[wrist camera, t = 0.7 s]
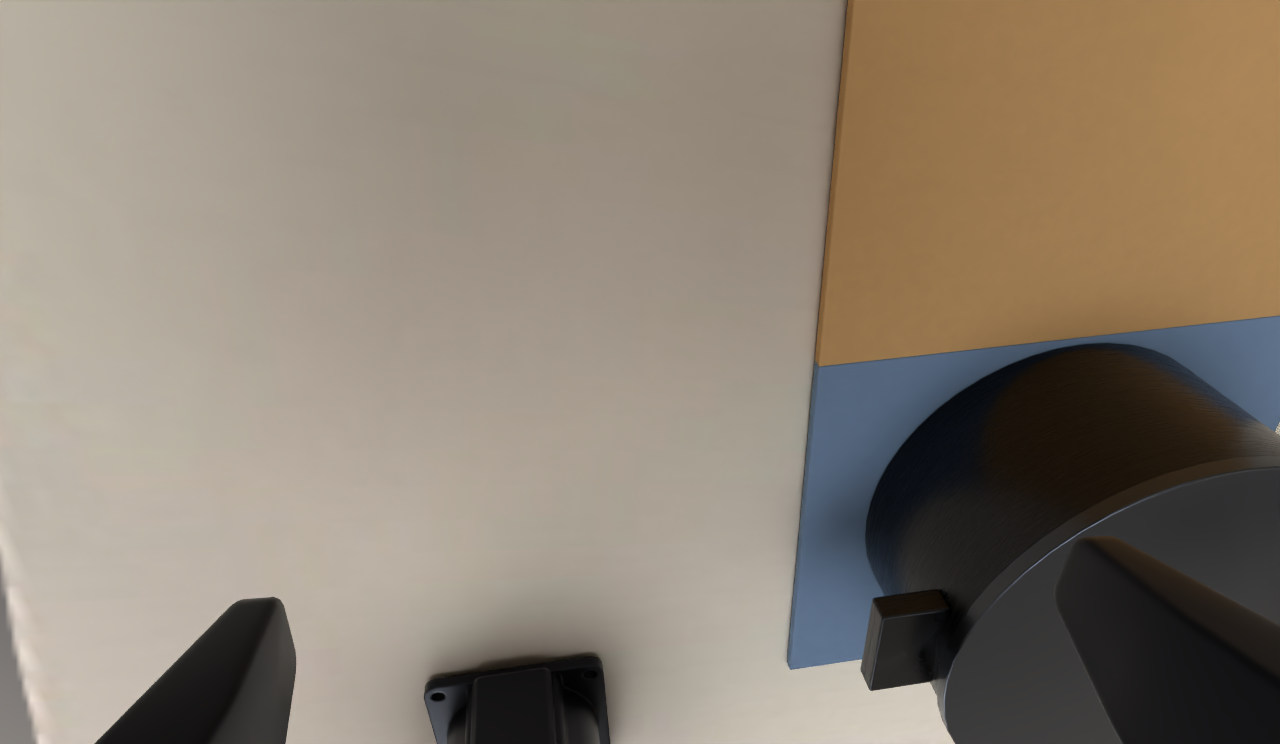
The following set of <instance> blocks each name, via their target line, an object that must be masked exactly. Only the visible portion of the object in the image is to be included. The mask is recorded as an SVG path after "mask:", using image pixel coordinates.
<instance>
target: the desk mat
mask: <svg viewBox="0 0 1280 744" xmlns="http://www.w3.org/2000/svg"><path fill="white" fill-rule="evenodd" d="M1099 343H1114V344H1127V345H1134V346H1138V347H1143V348H1147V349H1152V350H1154V351H1157V352H1159V353H1162V354H1164V355H1166V356H1169V357H1171V358H1173V359H1174V360H1176V361H1177V362H1179V363H1180V364H1182V365H1183V366H1185V367H1186V368H1188V369H1189V370H1190V371H1192V372H1193V373H1194V374H1196V375H1197V376H1199V377H1200V378H1201V379H1203V380H1204V381H1205V382H1207V383H1208V384H1209V385H1211V386H1212V387H1214V388H1215V389H1216V390H1218V391H1219V392H1220V393H1222V394H1223V395H1225V396H1226V397H1227V398H1229V399H1230V400H1231V401H1233V402H1234V403H1235V404H1237V405H1238V406H1240V407H1241V408H1242V409H1244V410H1245V411H1246V412H1248V413H1249V414H1250V415H1252V416H1253V417H1255V418H1256V419H1257V420H1259V421H1260V422H1261V423H1263V424H1264V425H1266V426H1267V427H1268V428H1270V429H1271V430H1272V431H1274V432H1275V430H1276V428H1277V426H1278V424H1279V422H1280V0H848V6H847V17H846V28H845V39H844V50H843V60H842V71H841V82H840V93H839V104H838V115H837V126H836V137H835V148H834V158H833V169H832V180H831V191H830V202H829V213H828V224H827V235H826V246H825V256H824V267H823V278H822V289H821V300H820V311H819V322H818V333H817V343H816V354H815V365H814V376H813V387H812V398H811V409H810V420H809V431H808V441H807V452H806V463H805V474H804V485H803V496H802V507H801V518H800V529H799V539H798V550H797V561H796V572H795V583H794V594H793V605H792V616H791V627H790V637H789V648H788V659H787V663H788V666H789V669H790V670H792V669H799V668H806V667H812V666H819V665H826V664H832V663H839V662H846V661H853V660H859V659H862V658H863V652H864V646H865V640H866V634H867V628H868V622H869V617H870V611H871V605H872V599H873V598H875V597H882V596H885V595H884V593H883V591H882V589H881V588H880V586H879V584H878V582H877V580H876V578H875V576H874V574H873V572H872V570H871V567H870V564H869V561H868V558H867V553H866V544H865V531H866V519H867V515H868V511H869V506H870V502H871V500H872V497H873V495H874V492H875V490H876V487H877V484H878V482H879V481H880V479H881V477H882V475H883V473H884V471H885V470H886V468H887V466H888V464H889V463H890V461H891V460H892V459H893V457H894V456H895V454H896V453H897V452H898V450H899V449H900V447H901V446H902V445H903V444H904V442H905V441H906V440H907V439H908V438H909V437H910V436H911V435H912V433H913V432H914V431H915V430H916V429H917V428H918V427H919V426H920V425H921V424H922V423H923V422H924V421H925V420H926V419H927V418H928V417H930V416H931V415H932V414H933V413H934V412H935V411H936V410H937V409H938V408H940V407H941V406H942V405H944V404H945V403H946V402H948V401H949V400H950V399H951V398H953V397H954V396H955V395H957V394H958V393H959V392H961V391H963V390H964V389H966V388H967V387H969V386H971V385H972V384H974V383H975V382H977V381H979V380H980V379H982V378H984V377H986V376H988V375H990V374H992V373H994V372H996V371H998V370H1000V369H1002V368H1004V367H1006V366H1008V365H1010V364H1013V363H1015V362H1018V361H1020V360H1023V359H1026V358H1028V357H1031V356H1034V355H1037V354H1041V353H1044V352H1048V351H1051V350H1055V349H1059V348H1065V347H1070V346H1076V345H1082V344H1099Z"/></svg>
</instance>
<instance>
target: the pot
mask: <svg viewBox="0 0 1280 744" xmlns="http://www.w3.org/2000/svg"><path fill="white" fill-rule="evenodd" d="M1095 536H1112V537H1116V538H1118V539H1120V540H1122V541H1124V542H1126V543H1128V544H1129V545H1131V546H1133V547H1135V548H1137V549H1139V550H1141V551H1143V552H1144V553H1146V554H1148V555H1150V556H1152V557H1154V558H1156V559H1157V560H1159V561H1161V562H1163V563H1165V564H1167V565H1169V566H1171V567H1172V568H1174V569H1176V570H1178V571H1180V572H1182V573H1184V574H1185V575H1187V576H1189V577H1191V578H1193V579H1195V580H1197V581H1199V582H1200V583H1202V584H1204V585H1206V586H1208V587H1210V588H1212V589H1213V590H1215V591H1217V592H1219V593H1221V594H1223V595H1225V596H1227V597H1228V598H1230V599H1232V600H1234V601H1236V602H1238V603H1240V604H1241V605H1243V606H1245V607H1247V608H1249V609H1251V610H1253V611H1255V612H1256V613H1258V614H1260V615H1262V616H1264V617H1266V618H1268V619H1270V620H1271V621H1273V622H1275V623H1277V624H1279V625H1280V436H1279V435H1278V434H1276V433H1275V432H1274V431H1272V430H1271V429H1270V428H1268V427H1267V426H1266V425H1264V424H1263V423H1261V422H1260V421H1259V420H1257V419H1256V418H1255V417H1253V416H1252V415H1250V414H1249V413H1248V412H1246V411H1245V410H1244V409H1242V408H1241V407H1240V406H1238V405H1237V404H1235V403H1234V402H1233V401H1231V400H1230V399H1229V398H1227V397H1226V396H1225V395H1223V394H1222V393H1220V392H1219V391H1218V390H1216V389H1215V388H1214V387H1212V386H1211V385H1209V384H1208V383H1207V382H1205V381H1204V380H1203V379H1201V378H1200V377H1199V376H1197V375H1196V374H1194V373H1193V372H1192V371H1190V370H1189V369H1188V368H1186V367H1185V366H1183V365H1182V364H1180V363H1179V362H1177V361H1176V360H1174V359H1173V358H1171V357H1169V356H1166V355H1164V354H1162V353H1159V352H1157V351H1154V350H1152V349H1147V348H1143V347H1138V346H1134V345H1127V344H1114V343H1099V344H1082V345H1076V346H1070V347H1065V348H1059V349H1055V350H1051V351H1048V352H1044V353H1041V354H1037V355H1034V356H1031V357H1028V358H1026V359H1023V360H1020V361H1018V362H1015V363H1013V364H1010V365H1008V366H1006V367H1004V368H1002V369H1000V370H998V371H996V372H994V373H992V374H990V375H988V376H986V377H984V378H982V379H980V380H979V381H977V382H975V383H974V384H972V385H971V386H969V387H967V388H966V389H964V390H963V391H961V392H959V393H958V394H957V395H955V396H954V397H953V398H951V399H950V400H949V401H948V402H946V403H945V404H944V405H942V406H941V407H940V408H938V409H937V410H936V411H935V412H934V413H933V414H932V415H931V416H930V417H928V418H927V419H926V420H925V421H924V422H923V423H922V424H921V425H920V426H919V427H918V428H917V429H916V430H915V431H914V432H913V433H912V435H911V436H910V437H909V438H908V439H907V440H906V441H905V442H904V444H903V445H902V446H901V447H900V449H899V450H898V452H897V453H896V454H895V456H894V457H893V459H892V460H891V461H890V463H889V464H888V466H887V468H886V470H885V471H884V473H883V475H882V477H881V479H880V481H879V482H878V484H877V487H876V490H875V492H874V495H873V497H872V500H871V502H870V506H869V511H868V515H867V519H866V531H865V544H866V553H867V558H868V561H869V564H870V567H871V570H872V572H873V574H874V576H875V578H876V580H877V582H878V584H879V586H880V588H881V589H882V591H883V593H884V595H885V596H882V597H875V598H873V599H872V605H871V611H870V617H869V622H868V628H867V634H866V640H865V646H864V652H863V658H862V664H861V672H862V674H863V676H864V679H865V681H866V683H867V685H868V688H869V690H870V691H873V690H880V689H887V688H893V687H900V686H906V685H913V684H919V683H926V682H930V683H931V685H932V687H933V689H934V691H935V693H936V694H937V700H938V707H939V711H940V714H941V718H942V721H943V722H944V724H945V726H946V728H947V730H948V732H949V734H950V736H951V737H952V739H953V741H954V743H955V744H1122V743H1121V741H1120V739H1119V737H1118V736H1117V734H1116V732H1115V730H1114V728H1113V726H1112V724H1111V722H1110V720H1109V718H1108V716H1107V714H1106V712H1105V710H1104V708H1103V706H1102V704H1101V702H1100V700H1099V698H1098V696H1097V694H1096V691H1095V689H1094V687H1093V685H1092V683H1091V681H1090V678H1089V676H1088V674H1087V672H1086V670H1085V668H1084V666H1083V663H1082V661H1081V659H1080V657H1079V655H1078V653H1077V651H1076V648H1075V646H1074V644H1073V642H1072V640H1071V638H1070V636H1069V633H1068V631H1067V629H1066V627H1065V625H1064V623H1063V620H1062V618H1061V616H1060V614H1059V612H1058V610H1057V607H1056V604H1055V600H1054V587H1055V584H1056V581H1057V579H1058V576H1059V574H1060V572H1061V569H1062V567H1063V565H1064V562H1065V560H1066V557H1067V555H1068V553H1069V550H1070V548H1071V546H1072V544H1073V543H1074V542H1075V541H1076V540H1078V539H1079V538H1083V537H1095Z"/></svg>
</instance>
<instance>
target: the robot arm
mask: <svg viewBox="0 0 1280 744" xmlns="http://www.w3.org/2000/svg"><path fill="white" fill-rule="evenodd" d="M1054 600H1055V604H1056V607H1057V610H1058V612H1059V614H1060V616H1061V618H1062V620H1063V623H1064V625H1065V627H1066V629H1067V631H1068V633H1069V636H1070V638H1071V640H1072V642H1073V644H1074V646H1075V648H1076V651H1077V653H1078V655H1079V657H1080V659H1081V661H1082V663H1083V666H1084V668H1085V670H1086V672H1087V674H1088V676H1089V678H1090V681H1091V683H1092V685H1093V687H1094V689H1095V691H1096V694H1097V696H1098V698H1099V700H1100V702H1101V704H1102V706H1103V708H1104V710H1105V712H1106V714H1107V716H1108V718H1109V720H1110V722H1111V724H1112V726H1113V728H1114V730H1115V732H1116V734H1117V736H1118V737H1119V739H1120V741H1121V743H1122V744H1280V625H1279V624H1277V623H1275V622H1273V621H1271V620H1270V619H1268V618H1266V617H1264V616H1262V615H1260V614H1258V613H1256V612H1255V611H1253V610H1251V609H1249V608H1247V607H1245V606H1243V605H1241V604H1240V603H1238V602H1236V601H1234V600H1232V599H1230V598H1228V597H1227V596H1225V595H1223V594H1221V593H1219V592H1217V591H1215V590H1213V589H1212V588H1210V587H1208V586H1206V585H1204V584H1202V583H1200V582H1199V581H1197V580H1195V579H1193V578H1191V577H1189V576H1187V575H1185V574H1184V573H1182V572H1180V571H1178V570H1176V569H1174V568H1172V567H1171V566H1169V565H1167V564H1165V563H1163V562H1161V561H1159V560H1157V559H1156V558H1154V557H1152V556H1150V555H1148V554H1146V553H1144V552H1143V551H1141V550H1139V549H1137V548H1135V547H1133V546H1131V545H1129V544H1128V543H1126V542H1124V541H1122V540H1120V539H1118V538H1116V537H1112V536H1095V537H1083V538H1079V539H1078V540H1076V541H1075V542H1074V543H1073V544H1072V546H1071V548H1070V550H1069V553H1068V555H1067V557H1066V560H1065V562H1064V565H1063V567H1062V569H1061V572H1060V574H1059V576H1058V579H1057V581H1056V584H1055V587H1054ZM295 674H296V652H295V647H294V643H293V639H292V636H291V632H290V628H289V624H288V620H287V616H286V612H285V608H284V605H283V603H282V602H281V600H280V599H278V598H274V597H269V598H256V599H243V600H240V601H237V602H236V603H234V604H233V605H232V606H230V607H229V608H228V609H227V610H226V611H225V612H224V613H223V614H222V615H221V616H220V617H219V618H218V619H217V621H216V622H215V623H214V624H213V625H212V626H211V627H210V628H209V629H208V630H207V631H206V632H205V633H204V634H203V635H202V636H201V637H200V638H199V639H198V640H197V641H196V642H195V643H194V644H193V645H192V646H191V647H190V648H189V649H188V650H187V651H186V652H185V653H184V654H183V655H182V656H181V657H180V658H179V659H178V660H177V661H176V662H175V663H174V664H173V665H172V666H171V667H170V668H169V669H168V670H167V671H166V672H165V673H164V674H163V675H162V676H161V677H160V678H159V679H158V680H157V681H156V682H155V683H154V684H153V685H152V686H151V687H150V688H149V689H148V690H147V691H146V692H145V693H144V694H143V695H142V696H141V697H140V698H139V699H138V700H137V701H136V702H135V703H134V704H133V705H132V706H131V707H130V708H129V709H128V710H127V711H126V712H125V713H124V714H123V715H122V716H121V717H120V719H119V720H118V721H117V722H116V723H115V724H114V725H113V726H112V727H111V728H110V729H109V730H108V731H107V732H106V733H105V734H104V735H103V736H102V737H101V738H100V739H99V740H98V741H97V742H96V743H95V744H285V743H286V736H287V729H288V722H289V715H290V709H291V702H292V695H293V688H294V681H295ZM424 700H425V703H426V707H427V710H428V714H429V717H430V721H431V724H432V728H433V731H434V735H435V738H436V741H437V744H610V736H609V726H608V715H607V705H606V695H605V684H604V674H603V666H602V662H601V660H600V659H598V658H596V657H584V658H577V659H570V660H563V661H556V662H549V663H542V664H535V665H528V666H521V667H514V668H507V669H500V670H493V671H486V672H479V673H472V674H465V675H458V676H451V677H444V678H437V679H433V680H431V681H429V682H428V683H427V684H426V685H425V693H424Z"/></svg>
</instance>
